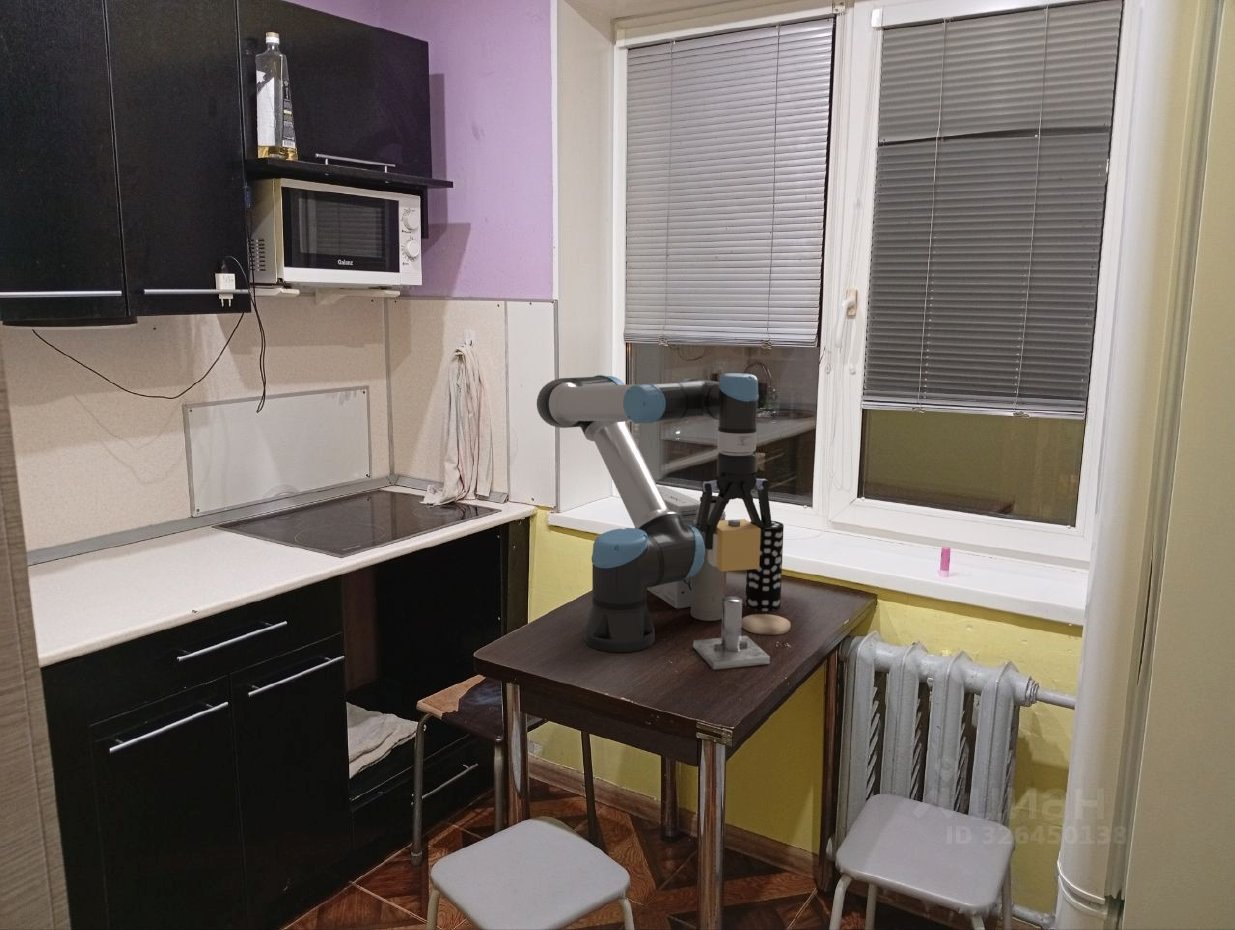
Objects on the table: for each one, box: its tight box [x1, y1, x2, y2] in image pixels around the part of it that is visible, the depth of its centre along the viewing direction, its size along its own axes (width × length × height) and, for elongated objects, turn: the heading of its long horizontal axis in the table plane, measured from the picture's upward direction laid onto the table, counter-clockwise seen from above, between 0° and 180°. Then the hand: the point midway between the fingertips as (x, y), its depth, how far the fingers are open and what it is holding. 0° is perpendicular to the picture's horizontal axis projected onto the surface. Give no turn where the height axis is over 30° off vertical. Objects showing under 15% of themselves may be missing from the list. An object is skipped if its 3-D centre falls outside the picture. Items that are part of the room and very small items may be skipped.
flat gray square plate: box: [692, 596, 771, 670], centre depth 188 cm, size 12×12×12 cm
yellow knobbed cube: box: [707, 518, 761, 572], centre depth 185 cm, size 8×8×9 cm
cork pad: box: [741, 613, 792, 636], centre depth 206 cm, size 11×11×1 cm
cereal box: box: [647, 485, 701, 610], centre depth 226 cm, size 22×8×25 cm, turn 25°
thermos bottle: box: [690, 495, 728, 622], centre depth 211 cm, size 8×8×28 cm
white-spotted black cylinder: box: [744, 520, 785, 612], centre depth 218 cm, size 8×8×20 cm
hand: (732, 562), depth 186 cm, fingers closed on yellow knobbed cube, 8 cm apart
